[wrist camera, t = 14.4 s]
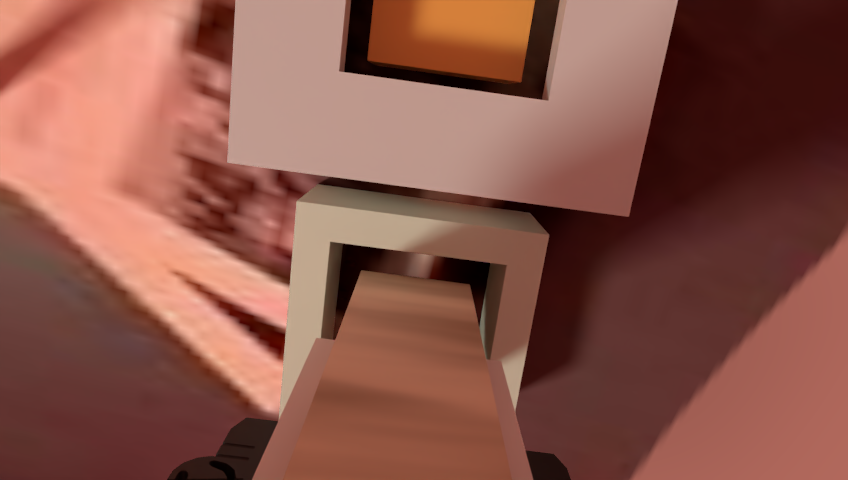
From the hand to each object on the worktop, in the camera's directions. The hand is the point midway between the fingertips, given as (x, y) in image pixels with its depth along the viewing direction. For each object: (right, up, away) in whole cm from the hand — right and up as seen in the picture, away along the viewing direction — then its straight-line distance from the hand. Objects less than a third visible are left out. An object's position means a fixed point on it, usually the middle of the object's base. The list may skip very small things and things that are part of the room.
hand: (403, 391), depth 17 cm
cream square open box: (0, +2, +8) cm, 8 cm away
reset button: (+2, +13, +4) cm, 14 cm away
